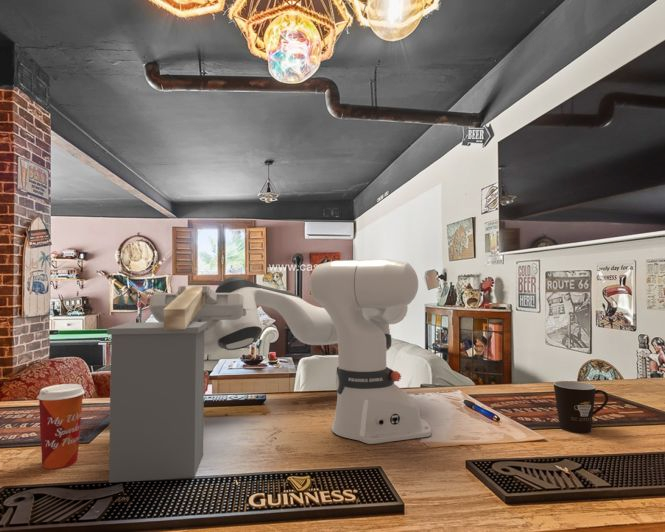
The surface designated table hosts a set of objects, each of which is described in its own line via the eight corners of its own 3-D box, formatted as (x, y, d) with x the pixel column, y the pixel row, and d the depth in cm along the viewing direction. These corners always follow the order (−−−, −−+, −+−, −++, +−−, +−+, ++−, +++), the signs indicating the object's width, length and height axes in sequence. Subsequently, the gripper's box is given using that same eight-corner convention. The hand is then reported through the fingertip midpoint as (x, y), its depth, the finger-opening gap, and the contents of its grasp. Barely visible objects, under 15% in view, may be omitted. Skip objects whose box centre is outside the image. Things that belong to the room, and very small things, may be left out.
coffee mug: (555, 432, 99) (555, 387, 99) (552, 421, 107) (551, 379, 107) (616, 439, 95) (615, 392, 95) (608, 426, 103) (607, 383, 103)
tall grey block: (206, 453, 87) (207, 321, 88) (196, 478, 76) (198, 327, 77) (126, 458, 85) (128, 322, 86) (104, 484, 74) (107, 328, 75)
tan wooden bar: (205, 301, 98) (205, 286, 98) (185, 329, 75) (184, 309, 75) (189, 301, 98) (189, 286, 97) (163, 329, 75) (163, 309, 75)
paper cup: (48, 475, 77) (50, 394, 78) (27, 465, 81) (29, 389, 82) (92, 459, 84) (93, 385, 84) (71, 451, 88) (72, 381, 88)
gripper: (246, 328, 104) (243, 301, 93) (156, 330, 102) (141, 302, 90) (247, 305, 108) (244, 276, 96) (160, 305, 105) (146, 276, 93)
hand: (193, 289), depth 93 cm, fingers closed on tan wooden bar, 3 cm apart
